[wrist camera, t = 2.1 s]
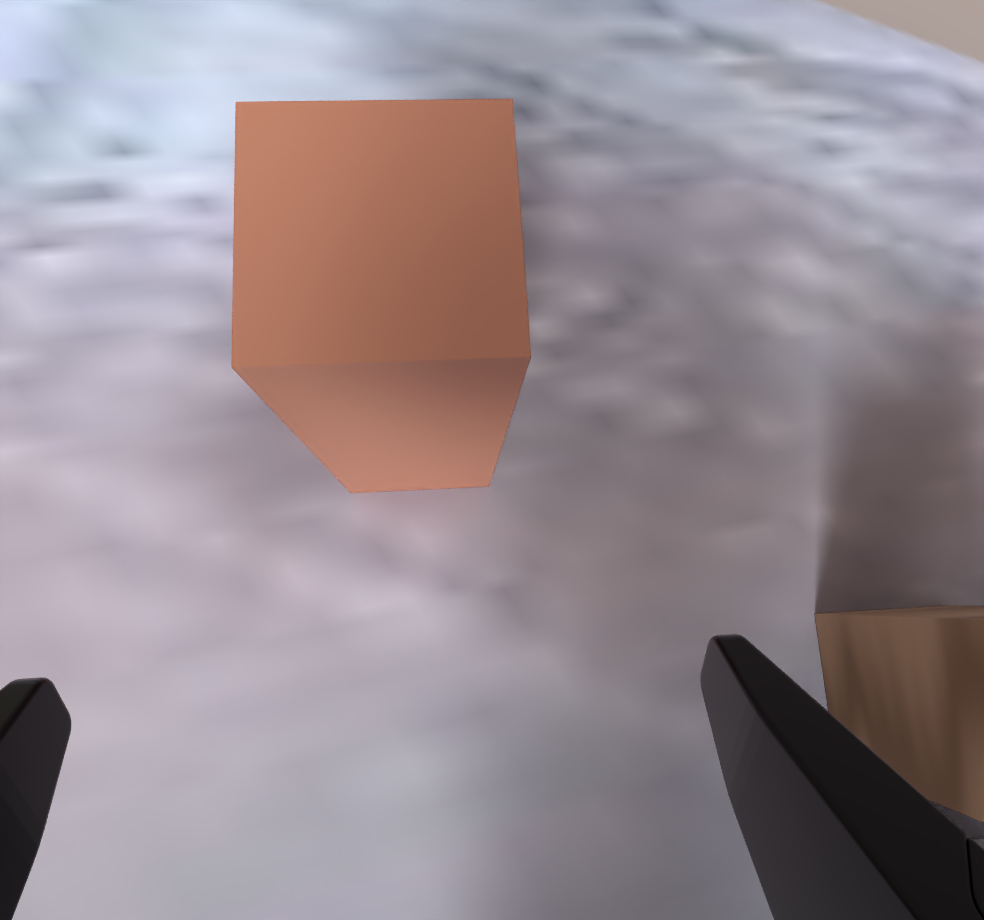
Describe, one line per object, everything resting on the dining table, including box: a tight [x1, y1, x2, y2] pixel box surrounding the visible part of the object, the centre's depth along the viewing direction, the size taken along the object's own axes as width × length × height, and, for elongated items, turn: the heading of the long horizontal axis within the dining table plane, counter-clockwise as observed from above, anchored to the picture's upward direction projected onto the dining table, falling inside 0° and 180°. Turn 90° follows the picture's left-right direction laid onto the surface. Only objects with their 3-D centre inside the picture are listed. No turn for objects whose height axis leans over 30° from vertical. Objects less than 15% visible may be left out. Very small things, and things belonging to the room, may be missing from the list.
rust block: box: [232, 99, 531, 493], centre depth 17 cm, size 4×4×12 cm
